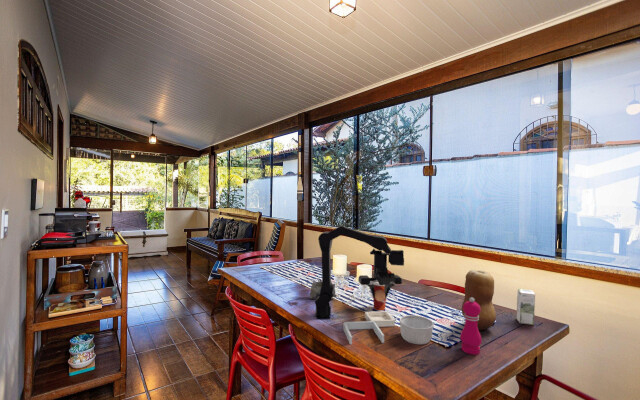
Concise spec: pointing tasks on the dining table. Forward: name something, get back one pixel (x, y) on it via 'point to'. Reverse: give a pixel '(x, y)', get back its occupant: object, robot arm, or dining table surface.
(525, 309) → the syrup box
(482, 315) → the butternut squash
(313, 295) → the mineral rock
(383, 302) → the paper cup
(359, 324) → the white c-shaped bracket
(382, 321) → the dish
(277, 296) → the dining table surface
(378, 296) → the ball
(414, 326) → the ramekin
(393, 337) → the dining table surface
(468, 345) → the pepper mill
